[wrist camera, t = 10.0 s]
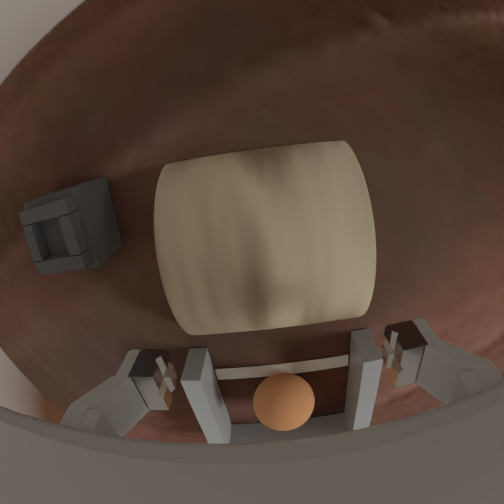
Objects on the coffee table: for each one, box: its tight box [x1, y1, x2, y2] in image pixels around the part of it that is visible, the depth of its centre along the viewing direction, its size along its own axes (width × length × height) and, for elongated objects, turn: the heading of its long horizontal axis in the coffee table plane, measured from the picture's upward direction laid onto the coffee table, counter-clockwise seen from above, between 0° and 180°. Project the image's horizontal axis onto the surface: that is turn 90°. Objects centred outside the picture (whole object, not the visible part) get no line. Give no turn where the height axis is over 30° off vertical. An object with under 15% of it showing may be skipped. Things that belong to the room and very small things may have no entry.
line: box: [215, 354, 349, 380], centre depth 19 cm, size 9×1×1 cm, turn 98°
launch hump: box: [154, 141, 376, 335], centre depth 17 cm, size 9×10×10 cm
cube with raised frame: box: [19, 176, 123, 275], centre depth 14 cm, size 4×4×4 cm
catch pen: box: [180, 328, 383, 444], centre depth 18 cm, size 12×10×4 cm
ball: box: [253, 373, 315, 431], centre depth 18 cm, size 4×4×4 cm
